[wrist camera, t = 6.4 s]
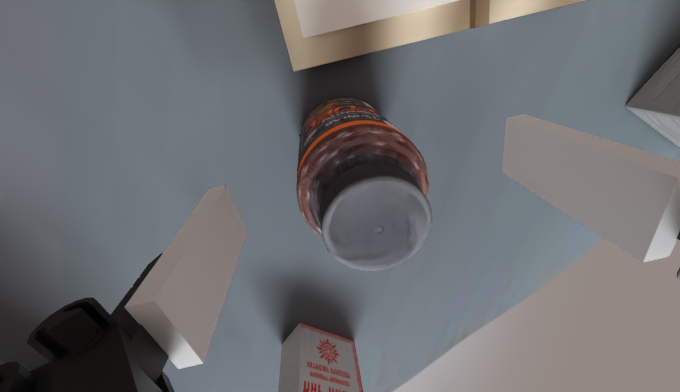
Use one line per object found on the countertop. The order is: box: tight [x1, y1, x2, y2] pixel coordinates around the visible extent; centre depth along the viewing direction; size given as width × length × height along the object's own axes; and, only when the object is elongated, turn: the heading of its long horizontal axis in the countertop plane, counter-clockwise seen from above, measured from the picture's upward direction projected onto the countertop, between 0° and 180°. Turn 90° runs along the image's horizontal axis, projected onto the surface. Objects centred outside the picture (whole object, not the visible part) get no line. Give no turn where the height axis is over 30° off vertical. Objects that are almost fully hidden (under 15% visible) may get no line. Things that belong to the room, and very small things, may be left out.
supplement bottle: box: [297, 97, 432, 271], centre depth 15 cm, size 6×6×11 cm
